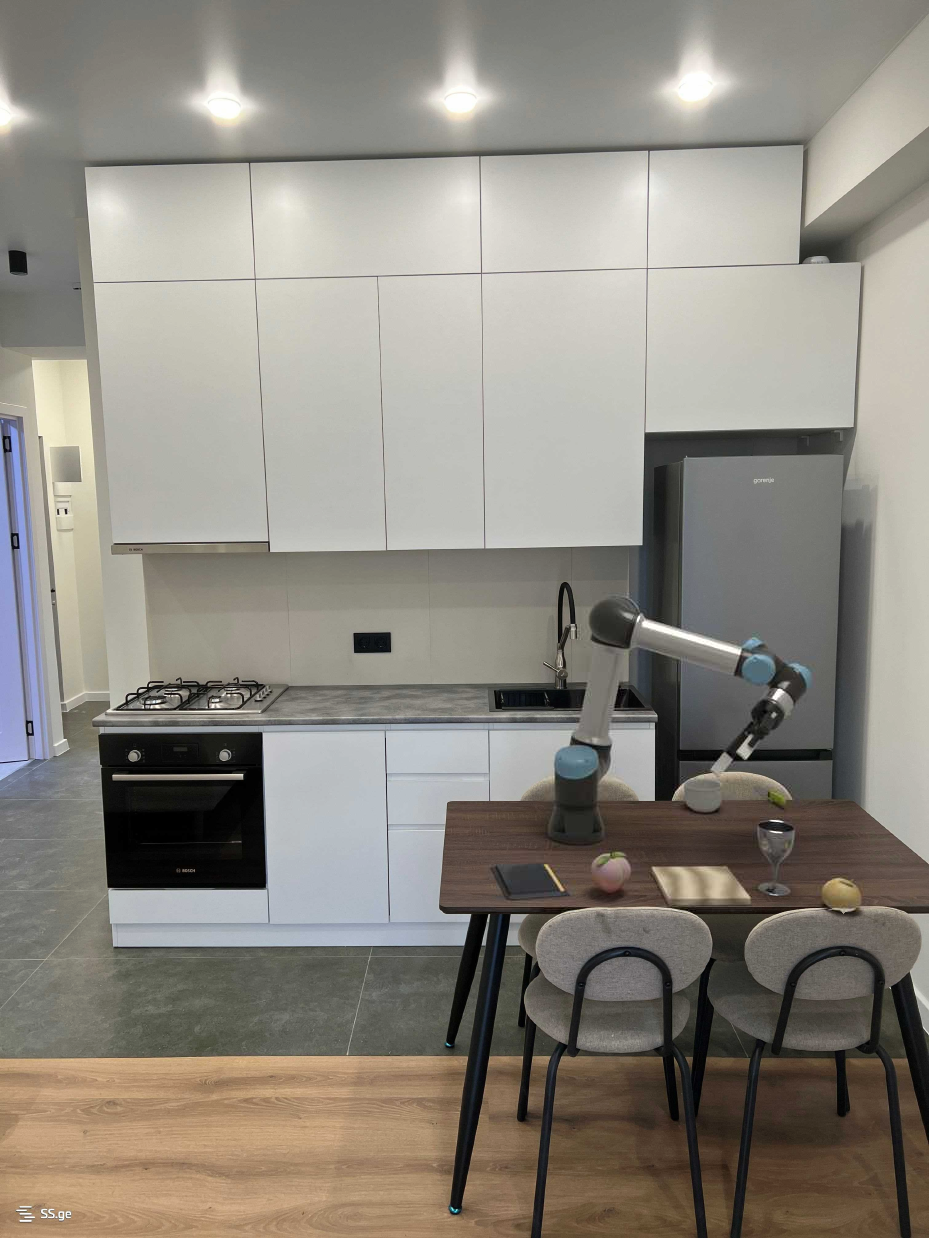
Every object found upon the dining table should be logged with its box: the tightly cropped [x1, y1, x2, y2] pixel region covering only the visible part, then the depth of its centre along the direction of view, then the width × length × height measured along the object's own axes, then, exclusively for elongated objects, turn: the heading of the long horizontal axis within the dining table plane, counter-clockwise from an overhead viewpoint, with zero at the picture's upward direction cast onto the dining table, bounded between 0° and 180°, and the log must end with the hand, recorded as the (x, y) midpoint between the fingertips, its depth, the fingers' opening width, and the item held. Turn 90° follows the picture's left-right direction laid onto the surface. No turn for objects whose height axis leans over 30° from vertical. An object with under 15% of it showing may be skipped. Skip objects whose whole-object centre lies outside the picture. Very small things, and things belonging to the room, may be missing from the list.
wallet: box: [490, 862, 570, 902], centre depth 205 cm, size 20×2×15 cm
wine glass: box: [757, 819, 796, 897], centre depth 198 cm, size 8×8×15 cm
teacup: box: [683, 776, 723, 813], centre depth 256 cm, size 14×11×8 cm
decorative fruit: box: [590, 850, 632, 894], centre depth 198 cm, size 9×8×10 cm
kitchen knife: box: [752, 784, 787, 806], centre depth 264 cm, size 22×1×3 cm, turn 6°
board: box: [651, 865, 752, 907], centre depth 200 cm, size 18×18×2 cm
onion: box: [820, 877, 862, 909], centre depth 189 cm, size 8×8×7 cm
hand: (727, 764), depth 210 cm, fingers open, 13 cm apart
